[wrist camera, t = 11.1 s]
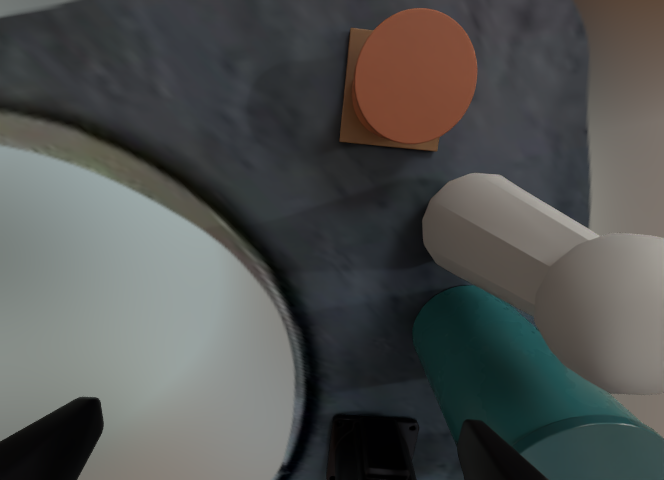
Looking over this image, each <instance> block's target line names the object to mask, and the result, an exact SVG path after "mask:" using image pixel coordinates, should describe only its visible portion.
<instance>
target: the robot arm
mask: <svg viewBox="0 0 664 480" xmlns="http://www.w3.org/2000/svg"><path fill="white" fill-rule="evenodd" d="M103 426H104V422H103V416H102V409H101V402H100V400H99V399H98V398H96V397H79V398H77V399H75V400H73V401H71V402H70V403H68V404H66V405H64V406H62V407H61V408H59V409H57V410H55V411H54V412H52V413H50V414H48V415H46V416H45V417H43V418H41V419H39V420H38V421H36V422H34V423H32V424H30V425H29V426H27V427H25V428H23V429H22V430H20V431H18V432H16V433H15V434H13V435H11V436H9V437H8V438H6V439H4V440H2V441H0V480H77V479H78V477H79V475H80V473H81V471H82V469H83V467H84V466H85V464H86V462H87V460H88V458H89V456H90V455H91V453H92V451H93V449H94V447H95V445H96V443H97V441H98V440H99V437H100V436H101V434H102V430H103ZM418 431H419V425H418V422H417V420H415V419H409V418H392V417H374V416H357V415H336V416H335V417H334V418H333V422H332V431H331V439H330V447H329V455H328V463H327V472H326V479H327V480H417V479H416V475H415V472H414V468H413V464H412V458H413V453H414V449H415V445H416V440H417V436H418ZM457 451H458V456H459V460H460V464H461V468H462V471H463V475H464V479H465V480H549V479H547V478H546V477H545V476H544V475H543V474H542V473H541V472H540V471H538V470H537V469H536V468H535V467H534V466H533V465H532V464H531V463H529V462H528V461H527V460H526V459H525V458H524V457H523V456H522V455H520V454H519V453H518V452H517V451H516V450H515V449H514V448H513V447H511V446H510V445H509V444H508V443H507V442H506V441H505V440H504V439H502V438H501V437H500V436H499V435H498V434H497V433H496V432H494V431H493V430H492V429H491V428H490V427H489V426H488V425H487V424H485V423H484V422H483V421H481V420H475V419H466V420H464V422H463V424H462V428H461V431H460V435H459V439H458V443H457Z"/></svg>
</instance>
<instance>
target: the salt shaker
mask: <svg viewBox="0 0 664 480" xmlns="http://www.w3.org/2000/svg"><path fill="white" fill-rule="evenodd" d="M422 228H423V243H424V245H425V247H426V249H427V250H428V252H429V253H430V255H431V256H432V258H433V260H434V261H435V263H436V264H438V265H439V266H441V267H443V268H444V269H446V270H448V271H449V272H451V273H453V274H454V275H456V276H458V277H460V278H462V279H464V280H466V281H467V282H469V283H471V284H473V285H475V286H477V287H479V288H481V289H482V290H484V291H486V292H488V293H490V294H492V295H494V296H496V297H497V298H499V299H501V300H503V301H505V302H507V303H509V304H511V305H512V306H514V307H516V308H518V309H520V310H522V311H524V312H526V313H527V314H529V315H531V316H533V317H534V321H535V324H536V326H537V328H538V330H539V332H540V333H541V335H542V337H543V339H544V340H545V342H546V344H547V346H548V347H549V349H550V351H551V352H552V353H553V354H554V355H555V356H556V357H557V358H558V359H559V360H560V362H561V363H562V364H563V365H564V366H566V367H567V368H569V369H570V370H572V371H573V372H575V373H576V374H578V375H579V376H581V377H582V378H584V379H585V380H587V381H589V382H591V383H592V384H594V385H596V386H598V387H599V388H601V389H603V390H605V391H606V392H608V393H610V394H636V395H652V394H661V393H664V238H660V237H656V236H650V235H638V234H626V233H608V234H605V235H603V236H599V235H598V234H596V233H594V232H593V231H591V230H589V229H588V228H586V227H584V226H583V225H581V224H579V223H578V222H576V221H574V220H573V219H571V218H569V217H568V216H566V215H564V214H563V213H561V212H559V211H558V210H556V209H554V208H553V207H551V206H549V205H548V204H546V203H544V202H543V201H541V200H539V199H538V198H536V197H534V196H533V195H531V194H529V193H528V192H526V191H524V190H523V189H521V188H519V187H518V186H516V185H515V184H513V183H512V182H510V181H509V180H507V179H505V178H504V177H502V176H501V175H494V174H482V173H471V174H468V175H465V176H463V177H460V178H457V179H455V180H452V181H449V182H448V183H447V184H446V185H445V186H444V187H443V188H442V189H441V190H440V191H438V192H437V193H436V194H435V195H434V196H433V197H432V198H431V199H430V202H429V204H428V207H427V209H426V212H425V214H424V217H423V219H422Z"/></svg>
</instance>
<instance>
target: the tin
mask: <svg viewBox="0 0 664 480" xmlns="http://www.w3.org/2000/svg"><path fill="white" fill-rule="evenodd" d="M412 339H413V345H414V347H415V350H416V353H417V355H418V357H419V360H420V362H421V364H422V367H423V369H424V371H425V374H426V376H427V378H428V381H429V383H430V385H431V388H432V390H433V392H434V395H435V397H436V399H437V402H438V404H439V406H440V409H441V411H442V413H443V416H444V418H445V420H446V423H447V425H448V427H449V430H450V432H451V434H452V437H453V439H454V441H455V444H456V446H457V443H458V439H459V435H460V431H461V428H462V424H463V422H464V420H466V419H475V420H481V421H483V422H484V423H485V424H487V425H488V426H489V427H490V428H491V429H492V430H493V431H494V432H496V433H497V434H498V435H499V436H500V437H501V438H502V439H504V440H505V441H506V442H507V443H508V444H509V445H510V446H511V447H513V448H514V449H515V450H516V451H517V452H518V453H519V454H520V455H522V456H523V457H524V458H525V459H526V460H527V461H528V462H529V463H531V464H532V465H533V466H534V467H535V468H536V469H537V470H538V471H540V472H541V473H542V474H543V475H544V476H545V477H546V478H547V479H549V480H664V438H663V437H662V436H660V435H659V434H658V433H657V432H655V431H654V430H653V429H652V428H650V427H648V426H647V425H645V424H643V423H642V422H641V421H639V420H638V419H637V418H636V417H635V416H634V415H632V414H631V413H630V412H629V411H628V410H627V409H626V408H625V407H624V406H623V405H622V404H620V403H619V402H618V401H617V400H616V399H615V398H614V397H613V396H612V395H610V394H609V393H608V392H606V391H605V390H603V389H601V388H599V387H598V386H596V385H594V384H592V383H591V382H589V381H587V380H585V379H584V378H582V377H581V376H579V375H578V374H576V373H575V372H573V371H572V370H570V369H569V368H567V367H566V366H564V365H563V364H562V363H561V362H560V360H559V359H558V358H557V357H556V356H555V355H554V354H553V353H552V352H551V351H550V349H549V347H548V346H547V344H546V342H545V340H544V339H543V337H542V335H541V333H540V332H539V330H538V329H537V328H536V327H535V326H533V325H532V324H531V323H530V322H529V321H528V320H527V319H526V318H525V317H523V316H522V315H521V314H520V313H519V312H518V311H517V310H516V309H514V308H513V307H512V306H511V305H510V304H509V303H507V302H505V301H503V300H501V299H499V298H497V297H496V296H494V295H492V294H490V293H488V292H486V291H484V290H482V289H481V288H479V287H477V286H474V285H465V286H458V287H453V288H450V289H447V290H445V291H443V292H441V293H439V294H438V295H436V296H434V297H433V298H432V299H431V300H429V301H428V302H427V303H426V304H425V305H424V306H423V308H422V309H421V310H420V312H419V314H418V315H417V317H416V320H415V322H414V326H413V332H412Z"/></svg>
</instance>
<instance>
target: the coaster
mask: <svg viewBox="0 0 664 480" xmlns="http://www.w3.org/2000/svg"><path fill="white" fill-rule="evenodd" d="M372 32H373V30H365V29H356V28H351V29H350V36H349V47H348V57H347V67H346V77H345V88H344V98H343V108H342V118H341V129H340V139H339V142H346V143H356V144H366V145H376V146H386V147H396V148H406V149H416V150H427V151H437V148H438V143H439V137H438V138H436V139H434V140H431V141H429V142H425V143H420V144H402V143H397V142H393V141H390V140H388V139H386V138H382V137H379V136H377V135H375V134H373V133H372V132H370V131H369V130H368V129H366V128H365V127H364V125H363V124H362V123H361V122H360V120H359V119H358V117H357V115H356V113H355V110H354V107H353V102H352V85H353V80H354V73H355V67H356V63H357V59H358V56H359V54H360V52H361V49H362V47H363V45H364V43H365V42H366V40H367V38H368V37H369V36H370V34H371V33H372Z"/></svg>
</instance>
